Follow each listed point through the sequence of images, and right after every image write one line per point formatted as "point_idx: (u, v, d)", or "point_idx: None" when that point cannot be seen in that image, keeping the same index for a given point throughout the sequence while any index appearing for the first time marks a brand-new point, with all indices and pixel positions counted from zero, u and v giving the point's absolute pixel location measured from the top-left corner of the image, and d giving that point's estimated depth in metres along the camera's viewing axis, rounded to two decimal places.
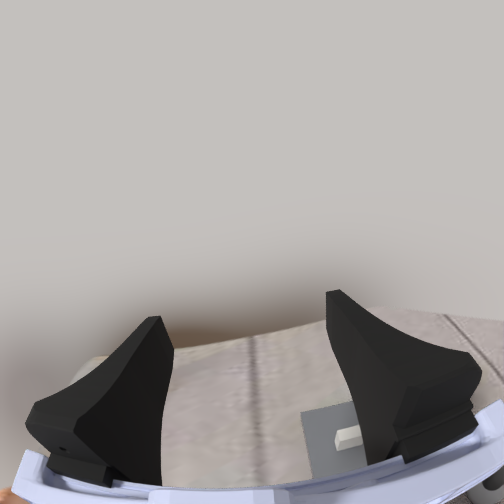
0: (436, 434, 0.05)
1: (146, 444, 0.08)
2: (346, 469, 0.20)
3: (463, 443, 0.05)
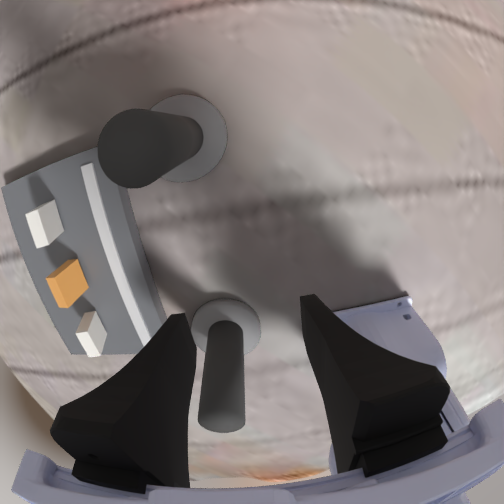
0: (399, 449, 0.05)
1: (175, 445, 0.08)
2: (127, 327, 0.23)
3: (463, 443, 0.05)
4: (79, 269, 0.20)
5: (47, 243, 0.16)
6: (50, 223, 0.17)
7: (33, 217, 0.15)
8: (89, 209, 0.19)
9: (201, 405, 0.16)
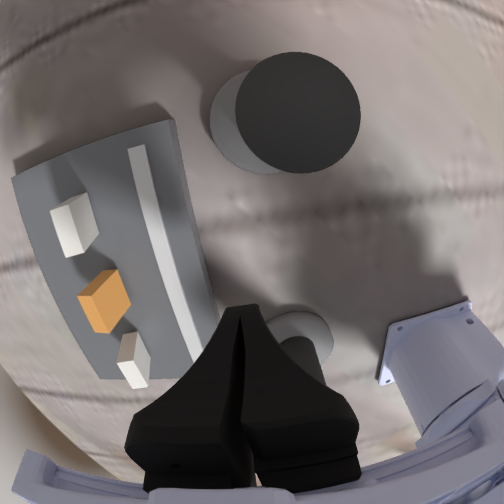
0: (303, 474, 0.05)
1: (247, 443, 0.08)
2: (178, 349, 0.20)
3: (463, 443, 0.05)
4: (120, 282, 0.17)
5: (81, 250, 0.13)
6: (84, 224, 0.14)
7: (61, 215, 0.12)
8: (137, 205, 0.15)
9: None
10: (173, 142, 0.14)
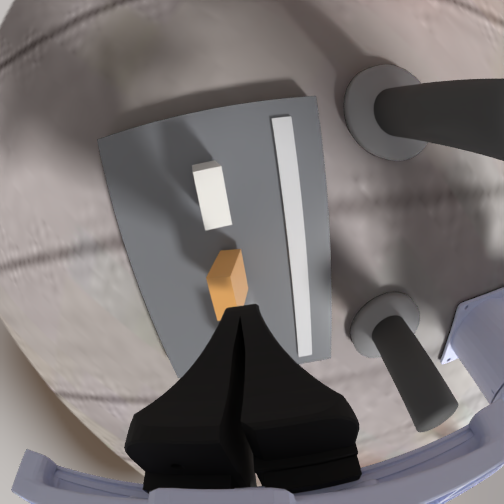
0: (303, 474, 0.05)
1: (247, 443, 0.08)
2: (284, 335, 0.20)
3: (463, 443, 0.05)
4: (242, 263, 0.16)
5: (229, 222, 0.13)
6: None
7: (210, 178, 0.12)
8: (275, 179, 0.15)
9: (424, 406, 0.13)
10: None
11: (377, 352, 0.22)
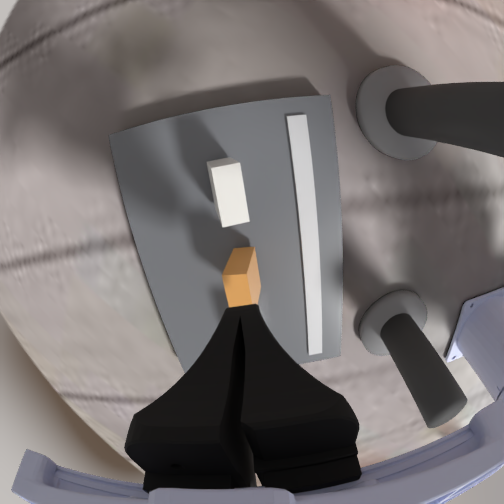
0: (303, 474, 0.05)
1: (247, 443, 0.08)
2: (295, 333, 0.19)
3: (463, 443, 0.05)
4: (256, 261, 0.16)
5: (247, 219, 0.13)
6: None
7: (228, 175, 0.12)
8: (289, 177, 0.15)
9: (435, 402, 0.13)
10: None
11: (385, 350, 0.22)
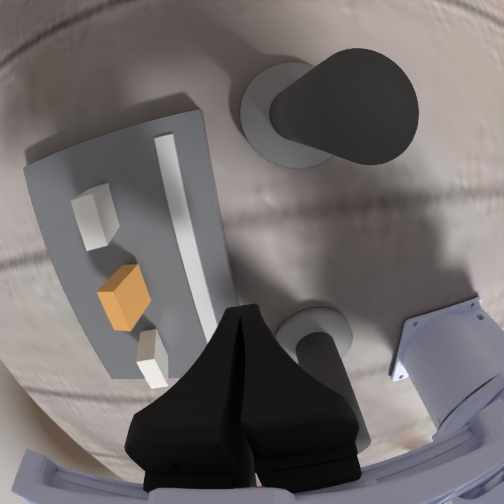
0: (303, 474, 0.05)
1: (247, 443, 0.08)
2: (197, 346, 0.20)
3: (463, 443, 0.05)
4: (140, 277, 0.16)
5: (105, 243, 0.13)
6: (106, 215, 0.13)
7: (84, 205, 0.12)
8: (162, 197, 0.15)
9: None
10: (203, 133, 0.14)
11: None
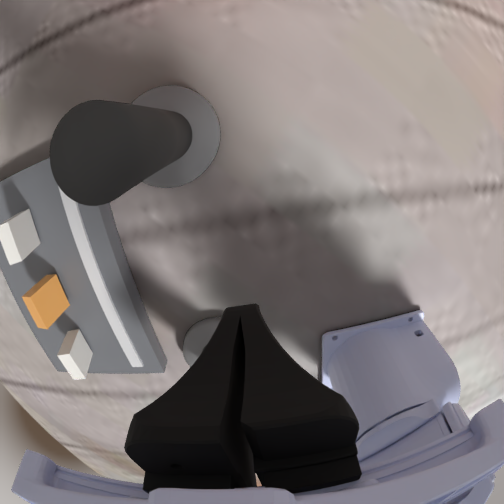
0: (303, 474, 0.05)
1: (247, 443, 0.08)
2: (114, 346, 0.20)
3: (463, 443, 0.05)
4: (58, 285, 0.17)
5: (20, 259, 0.13)
6: (24, 236, 0.14)
7: (4, 230, 0.13)
8: (65, 219, 0.16)
9: None
10: None
11: None
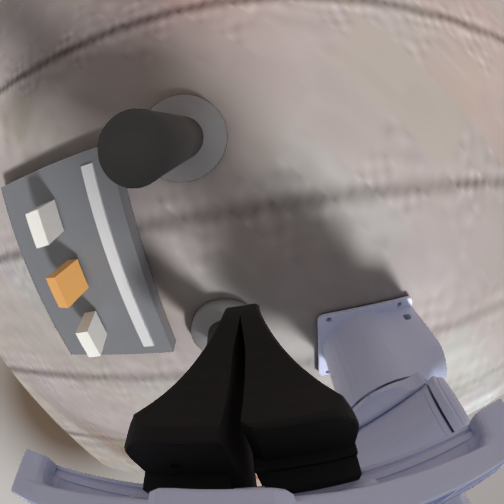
0: (303, 474, 0.05)
1: (247, 443, 0.08)
2: (127, 327, 0.23)
3: (463, 443, 0.05)
4: (79, 269, 0.20)
5: (47, 243, 0.16)
6: (50, 223, 0.17)
7: (33, 217, 0.15)
8: (89, 209, 0.19)
9: None
10: None
11: None
